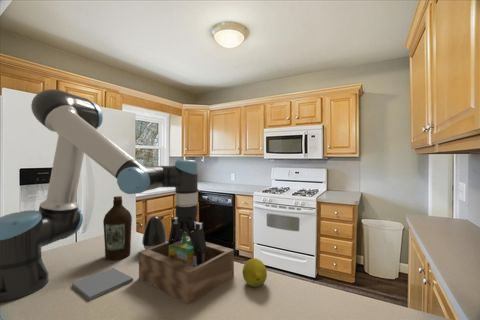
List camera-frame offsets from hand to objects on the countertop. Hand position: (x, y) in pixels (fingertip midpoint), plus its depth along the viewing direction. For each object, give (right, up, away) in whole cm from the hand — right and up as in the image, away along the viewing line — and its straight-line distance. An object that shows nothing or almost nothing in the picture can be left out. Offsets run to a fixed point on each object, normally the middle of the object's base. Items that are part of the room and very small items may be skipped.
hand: (186, 269), depth 81 cm
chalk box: (0, -3, 0) cm, 3 cm away
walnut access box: (0, -3, 0) cm, 3 cm away
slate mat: (-27, -3, -4) cm, 27 cm away
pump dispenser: (-20, -3, +24) cm, 31 cm away
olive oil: (-33, -3, +17) cm, 37 cm away
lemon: (+23, -3, -5) cm, 24 cm away
